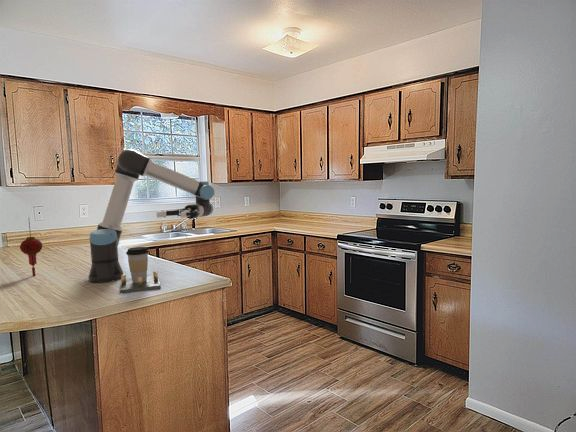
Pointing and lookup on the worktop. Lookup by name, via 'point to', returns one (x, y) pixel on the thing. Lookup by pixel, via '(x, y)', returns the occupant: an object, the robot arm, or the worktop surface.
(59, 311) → the worktop surface
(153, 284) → the pin plate
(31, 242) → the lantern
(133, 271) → the coffee cup
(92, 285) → the worktop surface
